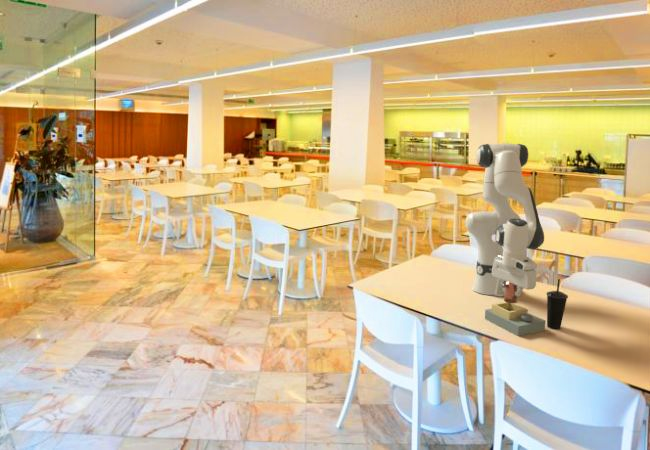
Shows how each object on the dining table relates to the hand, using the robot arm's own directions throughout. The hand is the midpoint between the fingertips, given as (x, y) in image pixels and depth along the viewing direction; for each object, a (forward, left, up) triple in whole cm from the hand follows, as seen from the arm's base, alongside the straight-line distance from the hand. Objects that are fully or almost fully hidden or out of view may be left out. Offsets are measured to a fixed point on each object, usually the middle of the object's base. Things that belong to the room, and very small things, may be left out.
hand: (511, 293), depth 191 cm
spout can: (0, 0, -3) cm, 3 cm away
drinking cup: (-14, +10, -13) cm, 22 cm away
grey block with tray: (-1, +2, -13) cm, 13 cm away
